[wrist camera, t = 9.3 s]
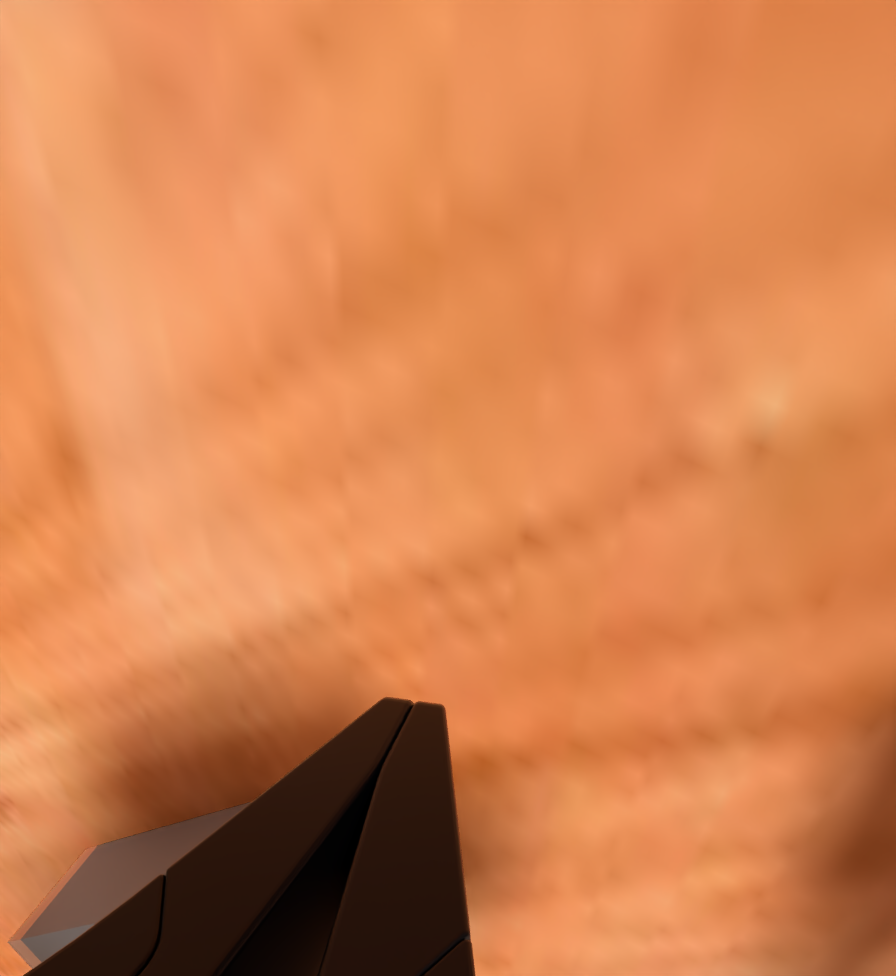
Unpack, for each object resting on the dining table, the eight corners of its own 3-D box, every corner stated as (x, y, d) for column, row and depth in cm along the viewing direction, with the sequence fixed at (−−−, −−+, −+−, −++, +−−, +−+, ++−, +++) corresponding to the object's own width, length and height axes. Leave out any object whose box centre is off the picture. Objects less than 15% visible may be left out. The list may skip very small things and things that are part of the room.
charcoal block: (220, 896, 24) (7, 942, 30) (289, 981, 26) (72, 1012, 31) (279, 793, 29) (86, 848, 34) (335, 870, 30) (140, 912, 35)
